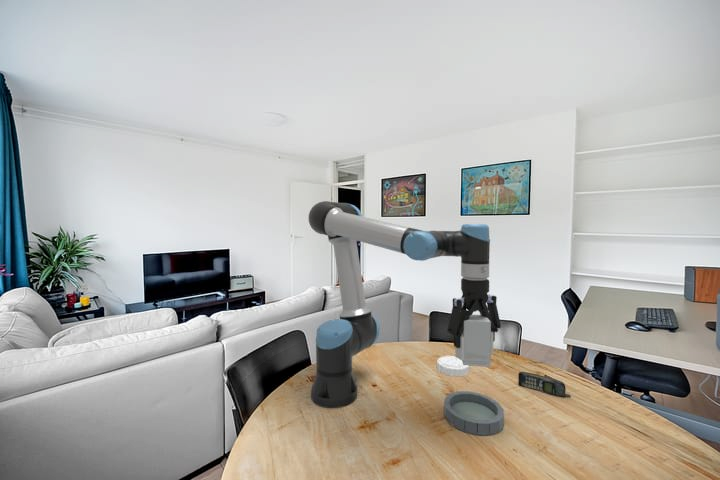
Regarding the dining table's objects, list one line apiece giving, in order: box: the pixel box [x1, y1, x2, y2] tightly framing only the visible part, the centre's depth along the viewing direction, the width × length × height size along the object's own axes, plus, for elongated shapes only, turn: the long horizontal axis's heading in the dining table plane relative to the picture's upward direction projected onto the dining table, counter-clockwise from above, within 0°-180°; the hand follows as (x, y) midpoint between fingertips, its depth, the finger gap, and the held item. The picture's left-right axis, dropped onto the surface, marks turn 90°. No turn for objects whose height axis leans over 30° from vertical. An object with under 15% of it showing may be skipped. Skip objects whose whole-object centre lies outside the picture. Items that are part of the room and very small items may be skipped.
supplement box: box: [462, 314, 492, 368], centre depth 88 cm, size 7×7×13 cm
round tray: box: [443, 390, 505, 437], centre depth 89 cm, size 16×16×3 cm
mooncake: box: [436, 355, 470, 378], centre depth 119 cm, size 12×12×4 cm
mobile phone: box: [517, 371, 571, 398], centre depth 103 cm, size 5×3×15 cm
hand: (474, 355), depth 88 cm, fingers closed on supplement box, 10 cm apart
